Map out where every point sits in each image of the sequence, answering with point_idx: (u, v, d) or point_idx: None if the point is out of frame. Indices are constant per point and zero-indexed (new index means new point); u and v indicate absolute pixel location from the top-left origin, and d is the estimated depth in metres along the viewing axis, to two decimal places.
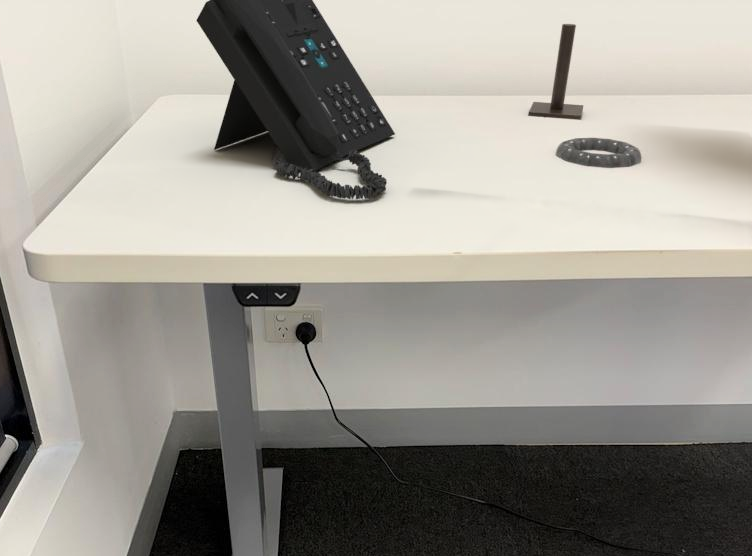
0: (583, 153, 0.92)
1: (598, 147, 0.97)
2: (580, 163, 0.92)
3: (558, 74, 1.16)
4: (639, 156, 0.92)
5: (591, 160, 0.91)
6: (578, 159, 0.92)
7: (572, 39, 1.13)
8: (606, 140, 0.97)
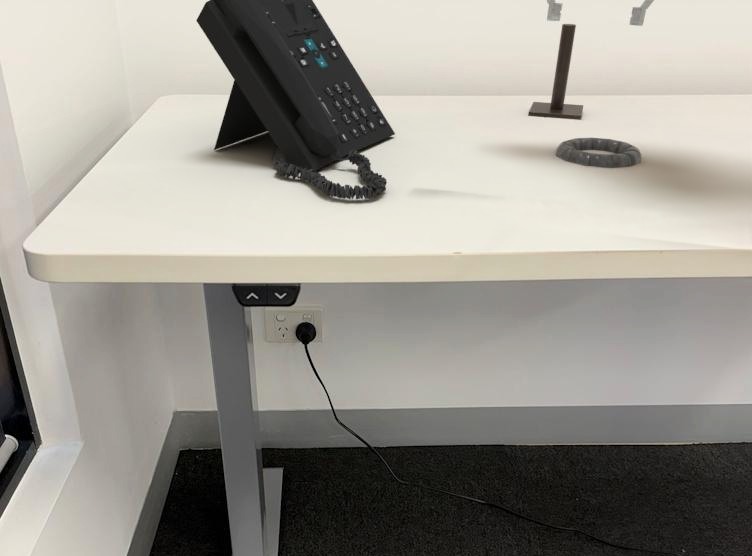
0: (583, 153, 0.92)
1: (598, 147, 0.97)
2: (580, 163, 0.92)
3: (558, 74, 1.16)
4: (639, 156, 0.92)
5: (591, 160, 0.91)
6: (578, 159, 0.92)
7: (572, 39, 1.13)
8: (606, 140, 0.97)
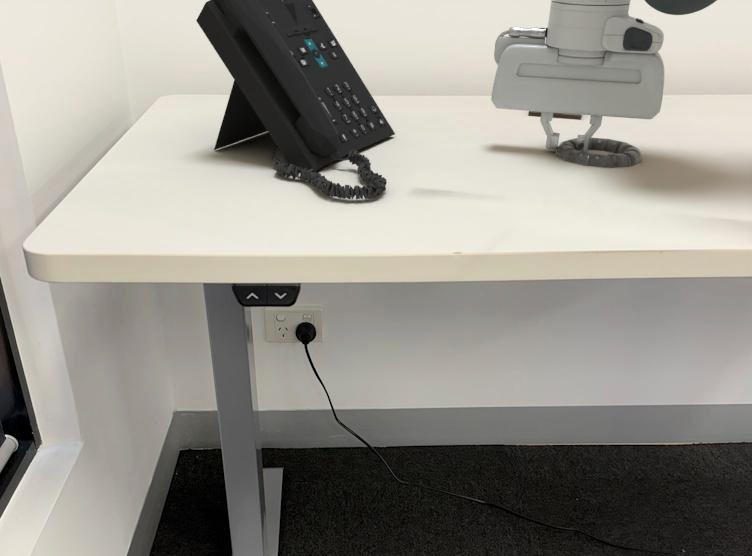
0: (583, 153, 0.92)
1: (598, 147, 0.97)
2: (580, 163, 0.92)
3: None
4: (639, 156, 0.92)
5: (591, 160, 0.91)
6: (578, 159, 0.92)
7: None
8: (606, 140, 0.97)
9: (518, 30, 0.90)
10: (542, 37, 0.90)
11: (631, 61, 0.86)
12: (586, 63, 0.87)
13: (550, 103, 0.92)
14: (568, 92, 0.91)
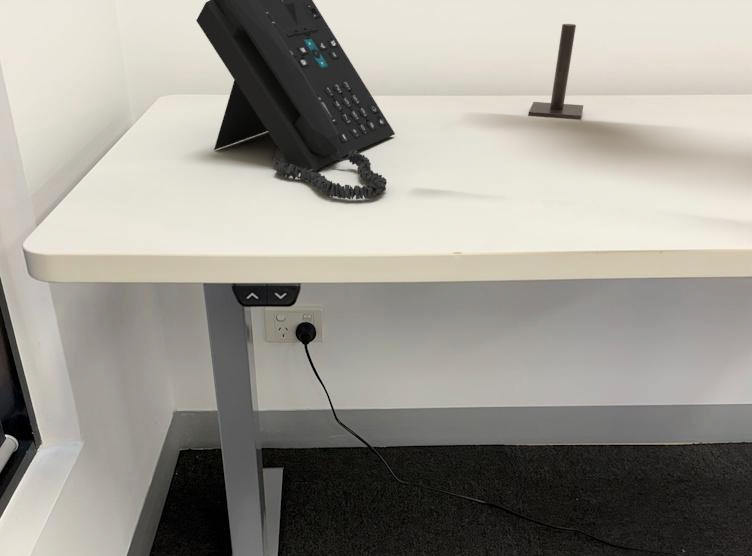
0: None
1: None
2: None
3: (558, 74, 1.16)
4: None
5: None
6: None
7: (572, 39, 1.13)
8: None
9: None
10: None
11: None
12: None
13: None
14: None
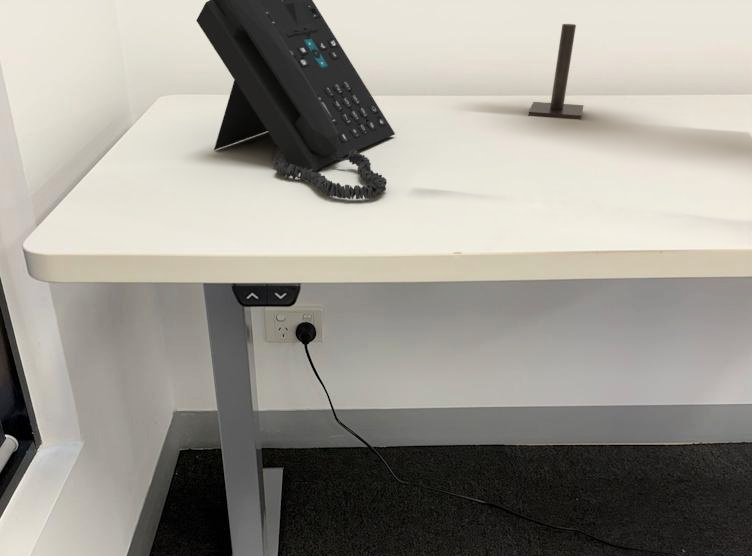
0: None
1: None
2: None
3: (558, 74, 1.16)
4: None
5: None
6: None
7: (572, 39, 1.13)
8: None
9: None
10: None
11: None
12: None
13: None
14: None
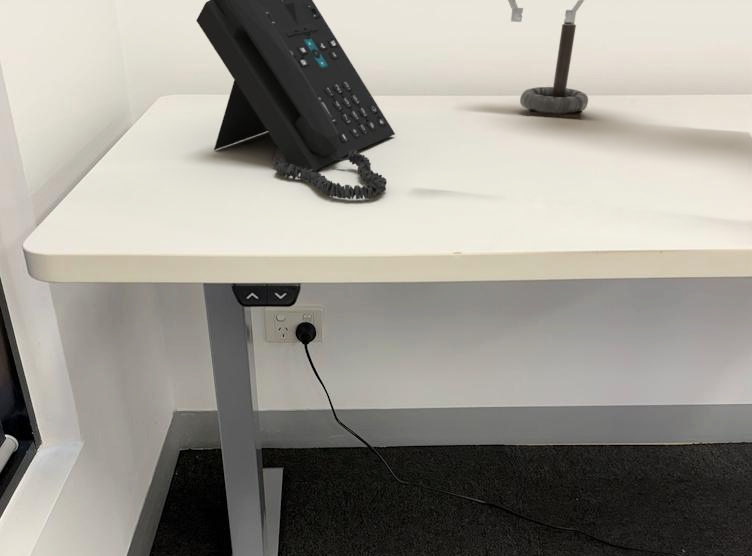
0: (541, 96, 1.16)
1: None
2: (538, 104, 1.15)
3: (558, 74, 1.16)
4: (586, 99, 1.16)
5: (547, 101, 1.15)
6: (537, 101, 1.16)
7: (572, 39, 1.13)
8: None
9: None
10: None
11: None
12: None
13: None
14: None
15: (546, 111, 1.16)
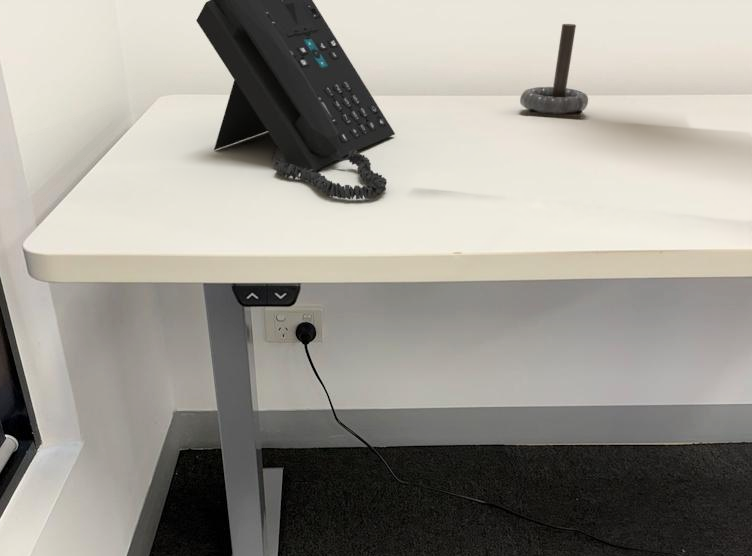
0: (541, 96, 1.16)
1: None
2: (538, 104, 1.15)
3: (558, 74, 1.16)
4: (586, 99, 1.16)
5: (547, 101, 1.15)
6: (537, 101, 1.16)
7: (572, 39, 1.13)
8: None
9: None
10: None
11: None
12: None
13: None
14: None
15: (546, 111, 1.16)
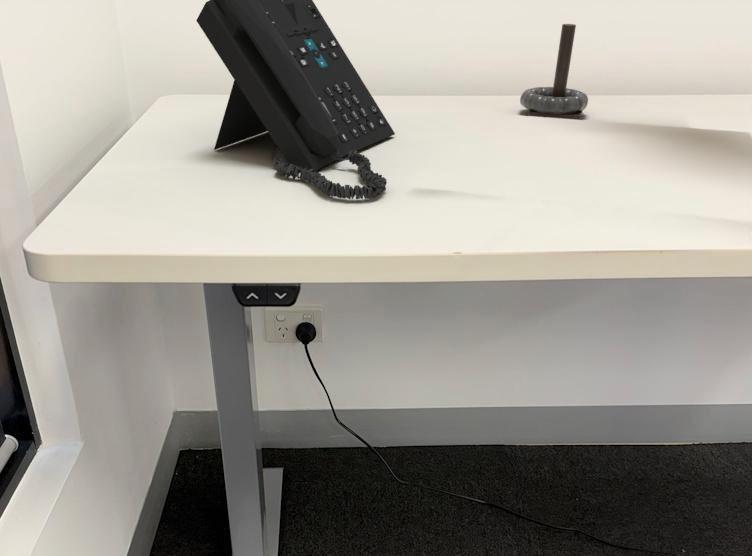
0: (541, 96, 1.16)
1: None
2: (538, 104, 1.15)
3: (558, 74, 1.16)
4: (586, 99, 1.16)
5: (547, 101, 1.15)
6: (537, 101, 1.16)
7: (572, 39, 1.13)
8: None
9: None
10: None
11: None
12: None
13: None
14: None
15: (546, 111, 1.16)
